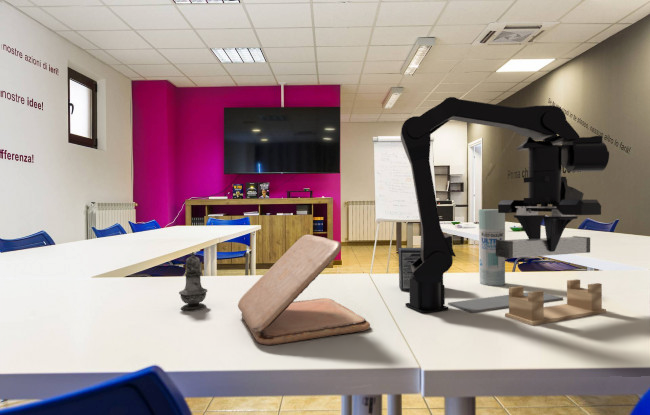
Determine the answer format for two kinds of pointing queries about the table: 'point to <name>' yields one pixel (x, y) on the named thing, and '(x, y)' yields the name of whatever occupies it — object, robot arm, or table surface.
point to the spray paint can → (491, 247)
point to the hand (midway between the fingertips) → (544, 250)
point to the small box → (407, 266)
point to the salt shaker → (193, 286)
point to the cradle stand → (577, 305)
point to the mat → (492, 303)
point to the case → (285, 286)
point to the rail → (541, 247)
